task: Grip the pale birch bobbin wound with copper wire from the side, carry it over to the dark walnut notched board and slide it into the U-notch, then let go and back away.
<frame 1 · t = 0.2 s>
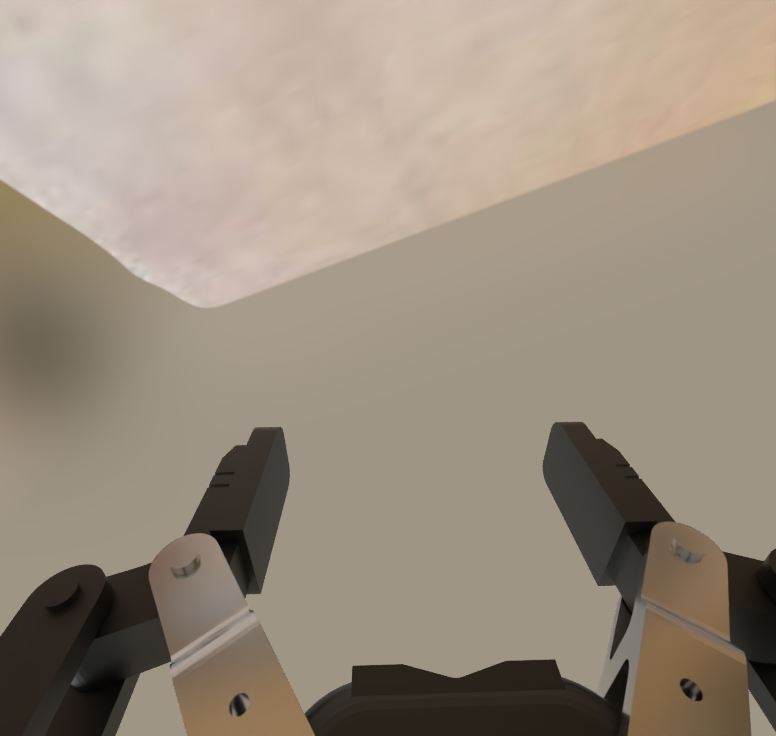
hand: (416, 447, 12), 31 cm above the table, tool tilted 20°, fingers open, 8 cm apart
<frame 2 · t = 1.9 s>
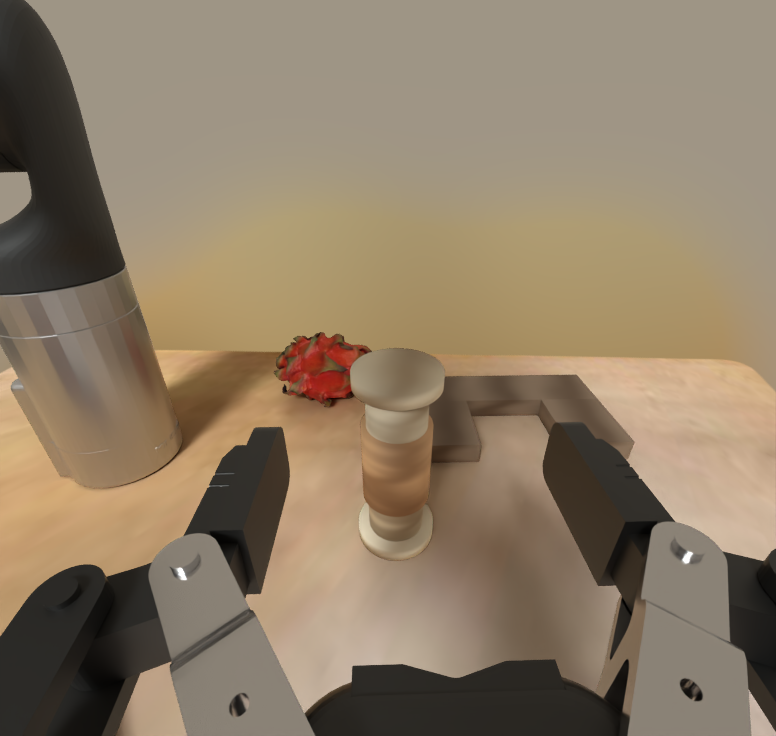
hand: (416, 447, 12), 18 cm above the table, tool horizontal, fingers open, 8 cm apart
bobbin: (395, 527, 30), on the table
dragon fruit: (330, 394, 47), on the table
notched board: (503, 421, 42), on the table
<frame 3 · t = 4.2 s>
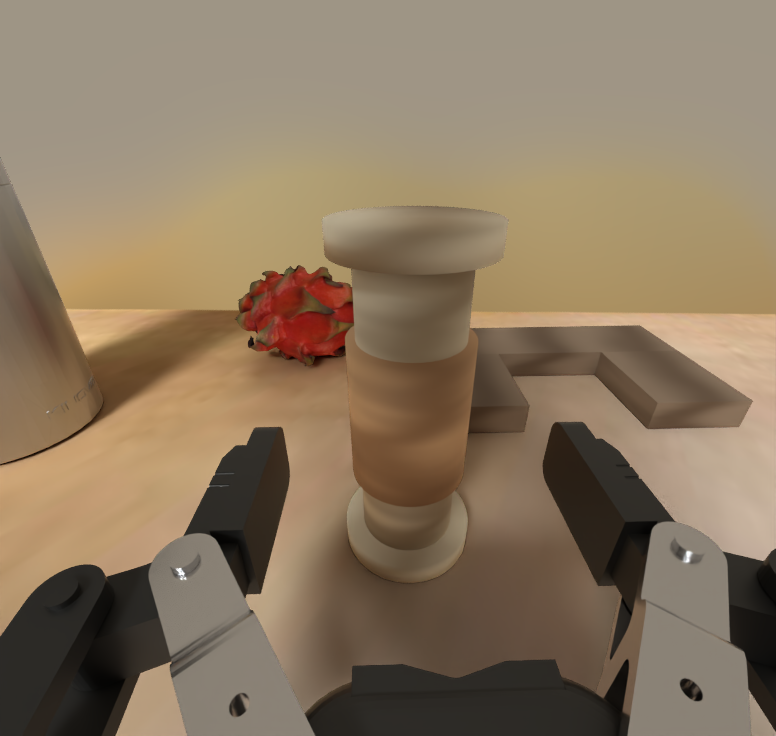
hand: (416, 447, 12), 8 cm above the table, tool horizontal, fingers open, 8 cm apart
bobbin: (406, 526, 19), on the table
dragon fruit: (314, 354, 35), on the table
notched board: (549, 381, 30), on the table
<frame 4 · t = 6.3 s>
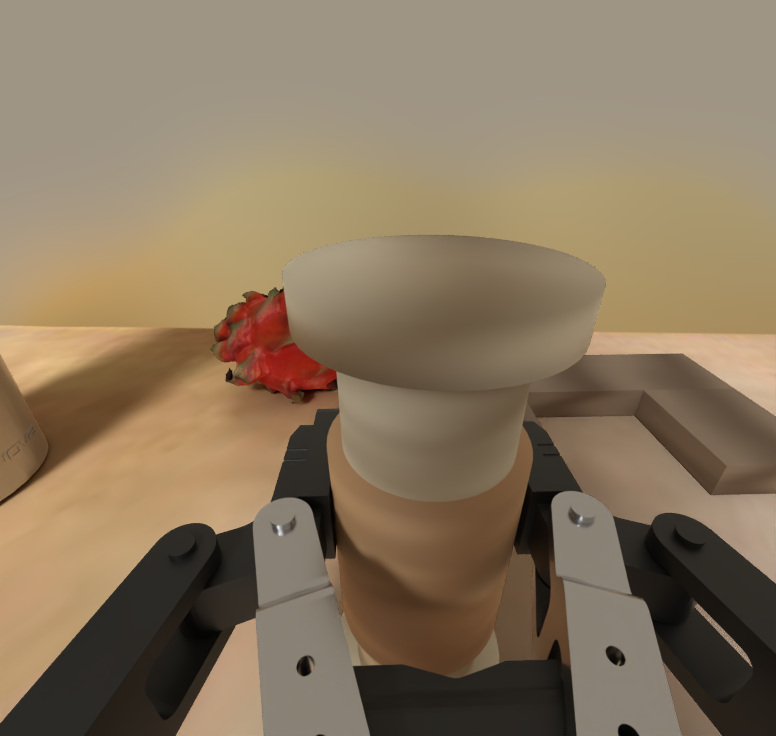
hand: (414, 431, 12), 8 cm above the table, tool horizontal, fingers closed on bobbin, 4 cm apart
bobbin: (415, 655, 14), on the table, touching gripper
dragon fruit: (305, 385, 31), on the table
notched board: (582, 425, 26), on the table
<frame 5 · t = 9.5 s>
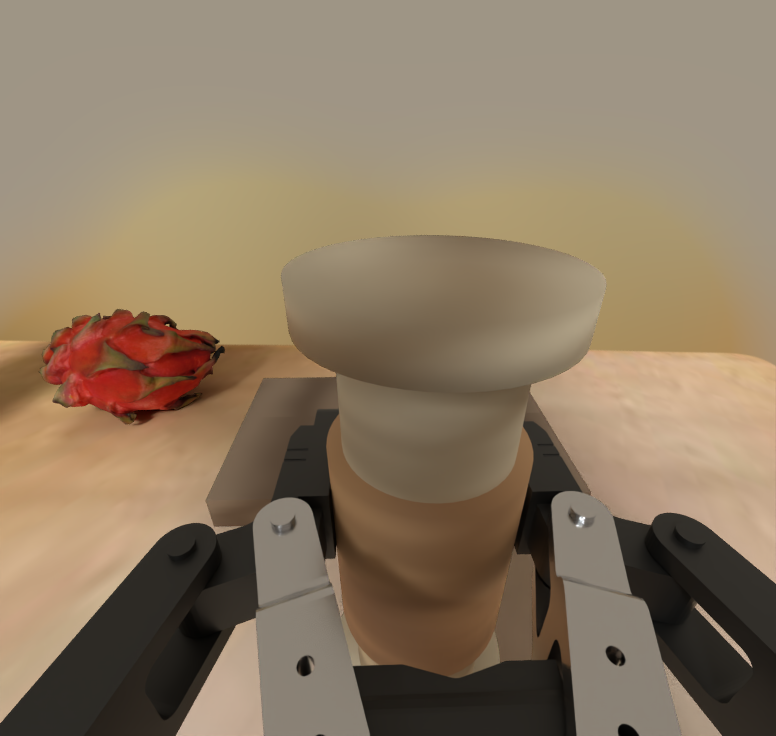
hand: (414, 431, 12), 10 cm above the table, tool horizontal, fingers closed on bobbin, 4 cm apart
bobbin: (415, 656, 14), point 2 cm above the table, touching gripper
dragon fruit: (154, 404, 31), on the table
notched board: (395, 447, 27), on the table
when the fingers open (9 cm above the table, at t = 13.0 s): bobbin drops 1 cm, on the table.
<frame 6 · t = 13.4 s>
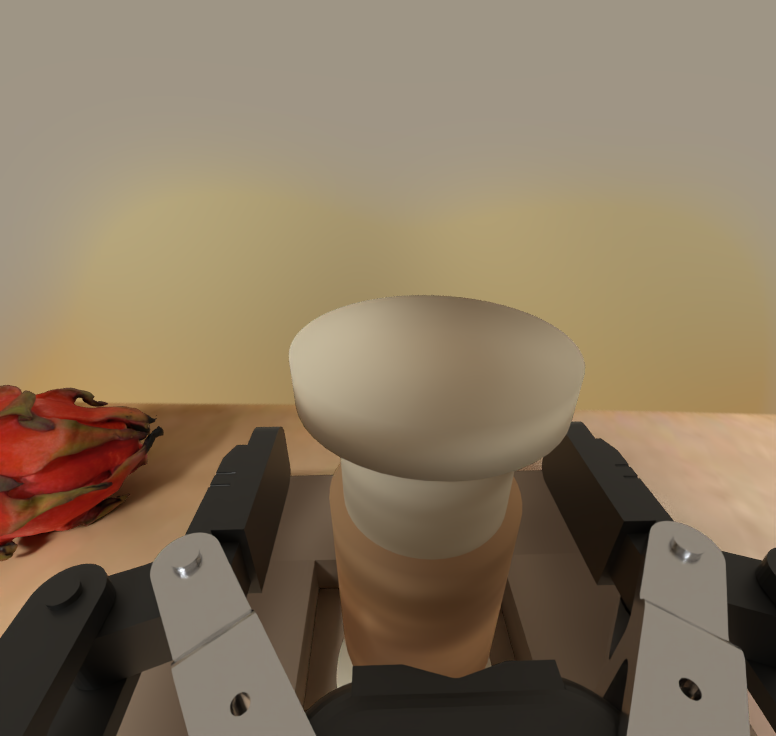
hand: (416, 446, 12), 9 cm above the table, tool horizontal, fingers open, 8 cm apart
bobbin: (413, 679, 15), on the table
dragon fruit: (61, 511, 22), on the table
notched board: (408, 608, 17), on the table
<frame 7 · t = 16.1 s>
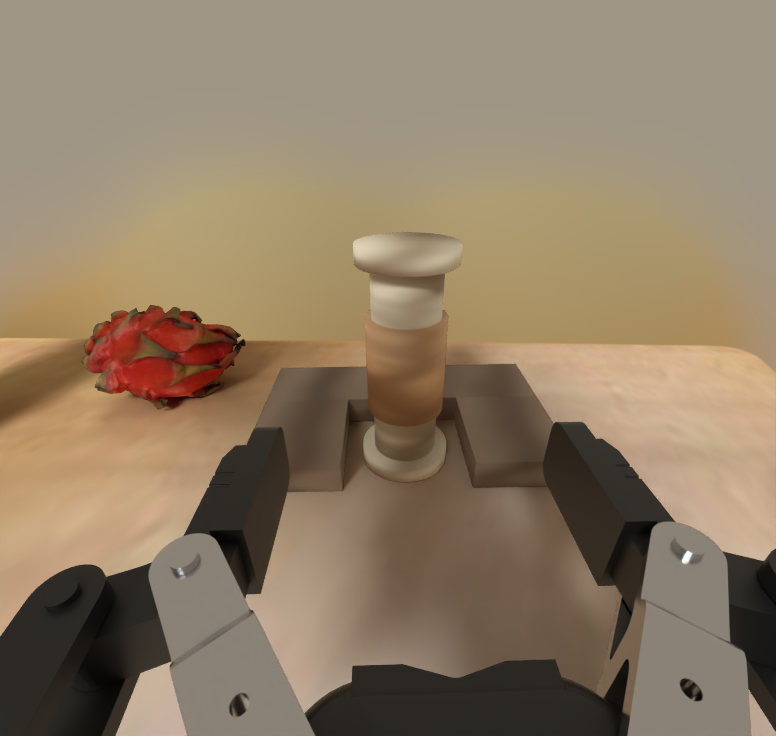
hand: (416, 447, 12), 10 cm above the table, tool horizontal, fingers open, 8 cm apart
bobbin: (404, 452, 27), on the table
dragon fruit: (181, 392, 34), on the table
notched board: (402, 428, 29), on the table
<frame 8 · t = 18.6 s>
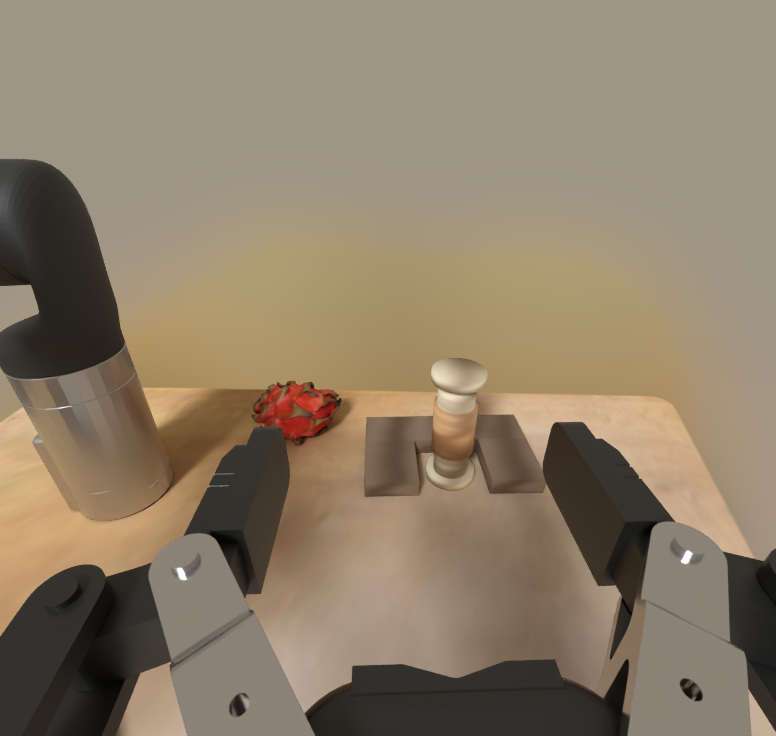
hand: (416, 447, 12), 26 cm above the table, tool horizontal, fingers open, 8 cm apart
bobbin: (449, 472, 47), on the table
dragon fruit: (301, 432, 54), on the table
notched board: (446, 457, 49), on the table
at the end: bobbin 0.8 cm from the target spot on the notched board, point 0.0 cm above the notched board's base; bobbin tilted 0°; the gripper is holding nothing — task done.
